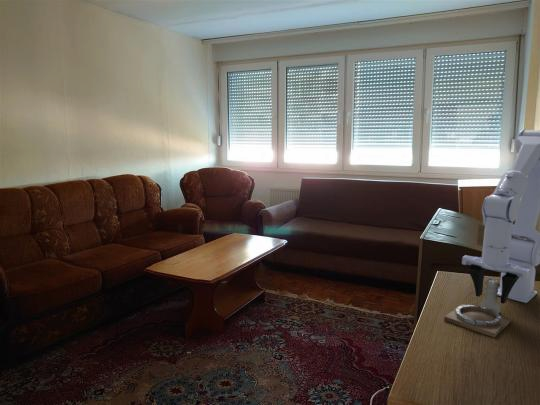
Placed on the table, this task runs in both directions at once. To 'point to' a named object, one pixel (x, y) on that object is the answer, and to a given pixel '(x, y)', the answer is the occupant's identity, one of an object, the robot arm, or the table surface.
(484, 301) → the rook chess piece
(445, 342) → the table surface
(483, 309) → the socket board
